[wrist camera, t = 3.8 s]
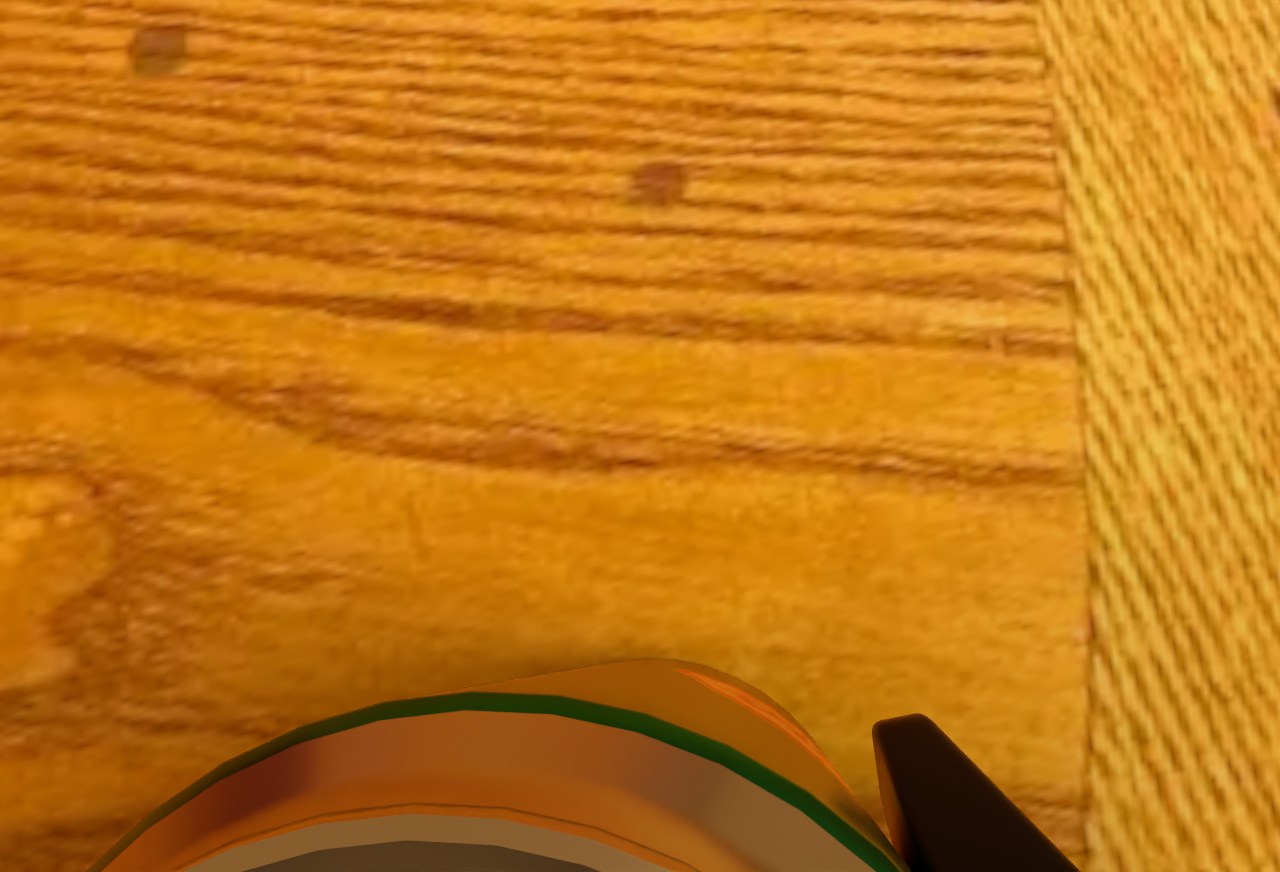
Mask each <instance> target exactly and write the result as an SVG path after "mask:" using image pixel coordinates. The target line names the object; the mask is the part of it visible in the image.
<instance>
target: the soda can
mask: <svg viewBox="0 0 1280 872" xmlns="http://www.w3.org/2000/svg"><path fill="white" fill-rule="evenodd" d="M86 872H911V870H910V869H909V868H908V866H907V865H906V864H905V862H904V861H903V859H902V858H901V857H900V855H899V854H898V853H897V851H896V850H895V849H894V847H893V846H892V845H891V843H890V842H889V841H888V839H887V838H886V837H885V835H884V834H883V833H882V831H881V830H880V829H879V827H878V826H877V824H876V823H875V822H874V820H873V819H872V818H871V816H870V815H869V814H868V812H867V811H866V810H865V808H864V807H863V806H862V804H861V803H860V802H859V800H858V799H857V798H856V796H855V795H854V794H853V792H852V791H851V790H850V788H849V787H848V785H847V784H846V783H845V781H844V780H843V779H842V777H841V776H840V775H839V773H838V772H837V771H836V769H835V768H834V767H833V765H832V764H831V763H830V761H829V760H828V759H827V757H826V756H825V755H824V753H823V752H822V751H821V749H820V748H819V746H818V745H817V744H816V742H815V741H814V740H813V738H812V737H811V736H810V735H809V734H808V733H807V732H806V730H805V729H804V728H803V727H802V726H801V725H800V724H799V723H798V722H797V721H796V720H795V719H794V718H793V716H792V715H791V714H790V713H789V712H788V711H786V710H785V709H784V708H782V707H781V706H780V705H779V704H777V703H776V702H775V701H774V700H772V699H771V698H770V697H769V696H767V695H766V694H765V693H763V692H762V691H760V690H758V689H756V688H755V687H753V686H751V685H749V684H748V683H746V682H744V681H742V680H741V679H739V678H737V677H735V676H732V675H729V674H727V673H724V672H721V671H719V670H716V669H713V668H711V667H708V666H704V665H699V664H694V663H689V662H685V661H680V660H668V659H638V660H629V661H621V662H613V663H607V664H601V665H596V666H590V667H584V668H578V669H572V670H566V671H560V672H554V673H548V674H543V675H537V676H531V677H525V678H519V679H513V680H507V681H501V682H496V683H490V684H484V685H478V686H472V687H466V688H460V689H454V690H448V691H443V692H437V693H431V694H425V695H419V696H413V697H407V698H401V699H395V700H390V701H385V702H381V703H378V704H374V705H371V706H367V707H364V708H361V709H357V710H354V711H350V712H347V713H343V714H340V715H336V716H333V717H329V718H326V719H322V720H319V721H315V722H312V723H308V724H305V725H302V726H300V727H298V728H296V729H294V730H292V731H290V732H287V733H285V734H283V735H281V736H279V737H277V738H275V739H273V740H270V741H268V742H266V743H264V744H262V745H260V746H258V747H255V748H253V749H251V750H249V751H247V752H245V753H243V754H241V755H238V756H236V757H234V758H232V759H230V760H228V761H226V762H224V763H222V764H221V765H219V766H218V767H216V768H215V769H213V770H212V771H210V772H209V773H207V774H206V775H204V776H203V777H202V778H200V779H199V780H197V781H196V782H194V783H193V784H191V785H190V786H188V787H187V788H185V789H184V790H182V791H181V792H179V793H178V794H176V795H175V796H173V797H172V798H170V799H169V800H167V801H166V802H164V803H163V804H162V805H160V806H159V807H157V808H156V809H154V810H153V811H151V812H150V813H149V814H148V815H147V816H146V817H144V818H143V819H142V820H141V821H140V822H139V823H138V824H137V825H136V826H135V827H134V828H133V829H131V830H130V831H129V832H128V833H127V834H126V835H125V836H124V837H123V838H122V839H121V840H120V841H118V842H117V843H116V844H115V845H114V846H113V847H112V848H111V849H110V850H109V851H108V852H107V853H106V854H104V855H103V856H102V857H101V858H100V859H99V860H98V861H97V862H96V863H95V864H94V865H93V866H91V867H90V868H89V869H88V870H87V871H86Z"/></svg>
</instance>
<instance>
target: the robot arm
mask: <svg viewBox="0 0 1280 872" xmlns="http://www.w3.org/2000/svg"><path fill="white" fill-rule="evenodd" d="M872 736H873V744H874V752H875V759H876V766H877V774H878V781H879V788H880V795H881V800H882V804H883V809H884V813H885V817H886V821H887V825H888V828H889V832H890V836H891V840H892V843H893V847H894V849H895V850H896V851H897V853H898V854H899V855H900V857H901V858H902V859H903V861H904V862H905V864H906V865H907V866H908V868H909V869H910V870H911V872H1081V871H1080V870H1079V869H1078V868H1077V867H1076V866H1075V865H1074V864H1073V863H1072V862H1071V861H1070V860H1069V859H1068V858H1067V857H1066V856H1065V855H1064V854H1063V853H1062V852H1061V851H1060V850H1059V849H1058V848H1057V847H1056V846H1055V845H1054V844H1053V843H1052V842H1051V841H1050V840H1049V839H1048V838H1047V837H1046V836H1045V835H1044V834H1043V833H1042V832H1041V831H1040V830H1039V829H1038V828H1037V827H1036V826H1035V825H1034V824H1033V823H1032V822H1031V821H1030V820H1029V819H1028V818H1027V817H1026V816H1025V815H1024V814H1023V813H1022V812H1021V810H1020V809H1019V808H1018V807H1017V806H1016V805H1015V804H1014V803H1013V802H1012V801H1011V800H1010V799H1009V798H1008V797H1007V796H1006V795H1005V794H1004V793H1003V792H1002V791H1001V790H1000V789H999V788H998V787H997V786H996V785H995V784H994V783H993V782H992V781H991V780H990V779H989V778H988V777H987V776H986V775H985V774H984V773H983V772H982V771H981V770H980V769H979V768H978V767H977V766H976V765H975V764H974V763H973V762H972V761H971V760H970V759H969V758H968V757H967V756H966V755H965V754H964V753H963V752H962V751H961V750H960V749H959V747H958V746H957V745H956V744H955V743H954V742H953V741H952V740H951V739H950V738H949V737H948V736H947V735H946V734H945V733H944V732H943V731H942V730H941V729H940V728H939V727H938V726H937V725H936V724H935V723H934V722H933V721H932V720H931V719H929V718H928V717H927V716H925V715H923V714H910V715H905V716H900V717H895V718H890V719H885V720H880V721H878V722H877V723H876V724H875V725H874V726H873V729H872Z"/></svg>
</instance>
